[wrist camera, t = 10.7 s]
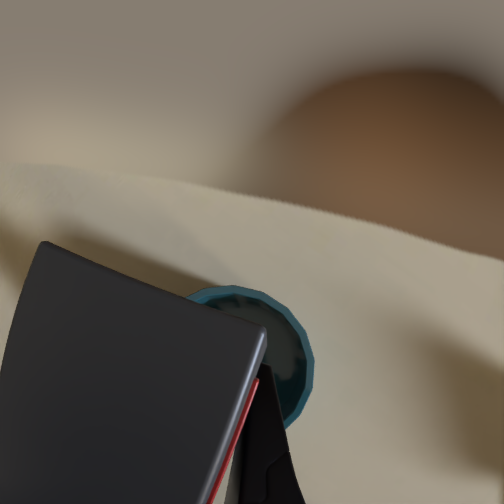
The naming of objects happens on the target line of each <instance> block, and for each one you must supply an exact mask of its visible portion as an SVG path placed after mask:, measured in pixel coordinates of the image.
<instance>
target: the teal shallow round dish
mask: <svg viewBox="0 0 504 504" xmlns="http://www.w3.org/2000/svg"><path fill="white" fill-rule="evenodd" d="M185 298H186V299H189V300H192V301H195V302H197V303H200V304H203V305H206V306H209V307H212V308H214V309H217V310H220V311H223V312H226V313H229V314H232V315H235V316H238V317H241V318H244V319H247V320H250V321H253V322H256V323H259V324H261V325H262V326H264V327H265V328H266V333H267V348H266V350H265V353H264V356H263V359H262V363H266V364H269V365H271V366H272V370H273V375H274V379H275V384H276V389H277V394H278V398H279V403H280V408H281V413H282V417H283V422H284V427H285V429H287V428H288V427H289V426H290V425H291V424H292V423H293V422H294V421H295V420H296V419H297V418H298V417H299V416H300V414H301V413H302V411H303V409H304V406H305V404H306V402H307V400H308V398H309V396H310V394H311V391H312V388H313V378H314V363H315V360H314V356H313V352H312V349H311V346H310V343H309V340H308V336H307V333H306V331H305V330H304V328H303V327H302V326H301V324H300V323H299V322H298V320H297V319H296V318H295V317H294V315H293V314H292V313H291V311H290V310H289V309H287V307H286V306H284V305H282V304H281V303H279V302H278V301H276V300H275V299H273V298H271V297H270V296H268V295H267V294H265V293H264V292H263V293H262V292H261V291H257V290H253V289H248V288H244V287H240V286H236V285H230V286H220V287H211V288H204V289H202V290H200V291H198V292H196V293H193V294H191V295H189V296H187V297H185Z"/></svg>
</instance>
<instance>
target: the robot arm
mask: <svg viewBox="0 0 504 504" xmlns="http://www.w3.org/2000/svg"><path fill="white" fill-rule="evenodd" d="M256 378H258V379H259V383H258V386H257V389H256V392H255V395H254V397H253V400H252V403H251V406H250V408H249V411H248V414H247V416H246V419H245V422H244V425H243V427H242V430H241V432H240V435H239V438H238V440H237V443H236V446H235V451H234V456H233V461H232V466H231V471H230V477H229V482H228V487H227V492H226V497H225V502H224V504H306V503H305V501H304V498H303V496H302V493H301V490H300V488H299V485H298V482H297V479H296V476H295V472H294V468H293V464H292V459H291V455H290V452H289V446H288V441H287V436H286V432H285V427H284V422H283V417H282V413H281V408H280V403H279V398H278V394H277V389H276V384H275V379H274V375H273V370H272V366H271V365H269V364H266V363H262V362H261V363H260V366H259V369H258V372H257V375H256Z"/></svg>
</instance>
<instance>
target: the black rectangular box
mask: <svg viewBox="0 0 504 504" xmlns="http://www.w3.org/2000/svg"><path fill="white" fill-rule="evenodd" d="M266 348H267V333H266V328H265V327H264V326H262V325H261V324H259V323H256V322H253V321H250V320H247V319H244V318H241V317H238V316H235V315H232V314H229V313H226V312H223V311H220V310H217V309H214V308H212V307H209V306H206V305H203V304H200V303H197V302H195V301H192V300H189V299H186V298H184V297H181V296H178V295H176V294H173V293H170V292H168V291H165V290H162V289H160V288H157V287H155V286H152V285H149V284H147V283H144V282H142V281H139V280H137V279H134V278H132V277H129V276H127V275H124V274H122V273H119V272H117V271H114V270H112V269H110V268H107V267H105V266H103V265H100V264H98V263H95V262H93V261H91V260H88V259H86V258H84V257H82V256H79V255H77V254H75V253H72V252H70V251H68V250H66V249H64V248H61V247H59V246H57V245H55V244H53V243H50V242H48V241H42V242H41V243H40V244H39V246H38V248H37V251H36V253H35V256H34V258H33V261H32V263H31V266H30V269H29V271H28V274H27V277H26V280H25V282H24V285H23V288H22V291H21V294H20V297H19V300H18V304H17V307H16V310H15V313H14V317H13V320H12V324H11V328H10V331H9V335H8V339H7V343H6V348H5V352H4V356H3V361H2V366H1V371H0V504H212V503H213V500H214V498H215V495H216V493H217V491H218V488H219V486H220V483H221V481H222V478H223V476H224V473H225V471H226V468H227V466H228V463H229V461H230V458H231V456H232V453H233V451H234V448H235V446H236V443H237V440H238V438H239V435H240V432H241V430H242V427H243V425H244V422H245V419H246V416H247V414H248V411H249V408H250V406H251V403H252V400H253V397H254V395H255V392H256V389H257V386H258V383H259V379H258V378H256V375H257V372H258V369H259V366H260V363H261V362H262V359H263V356H264V353H265V350H266Z"/></svg>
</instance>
